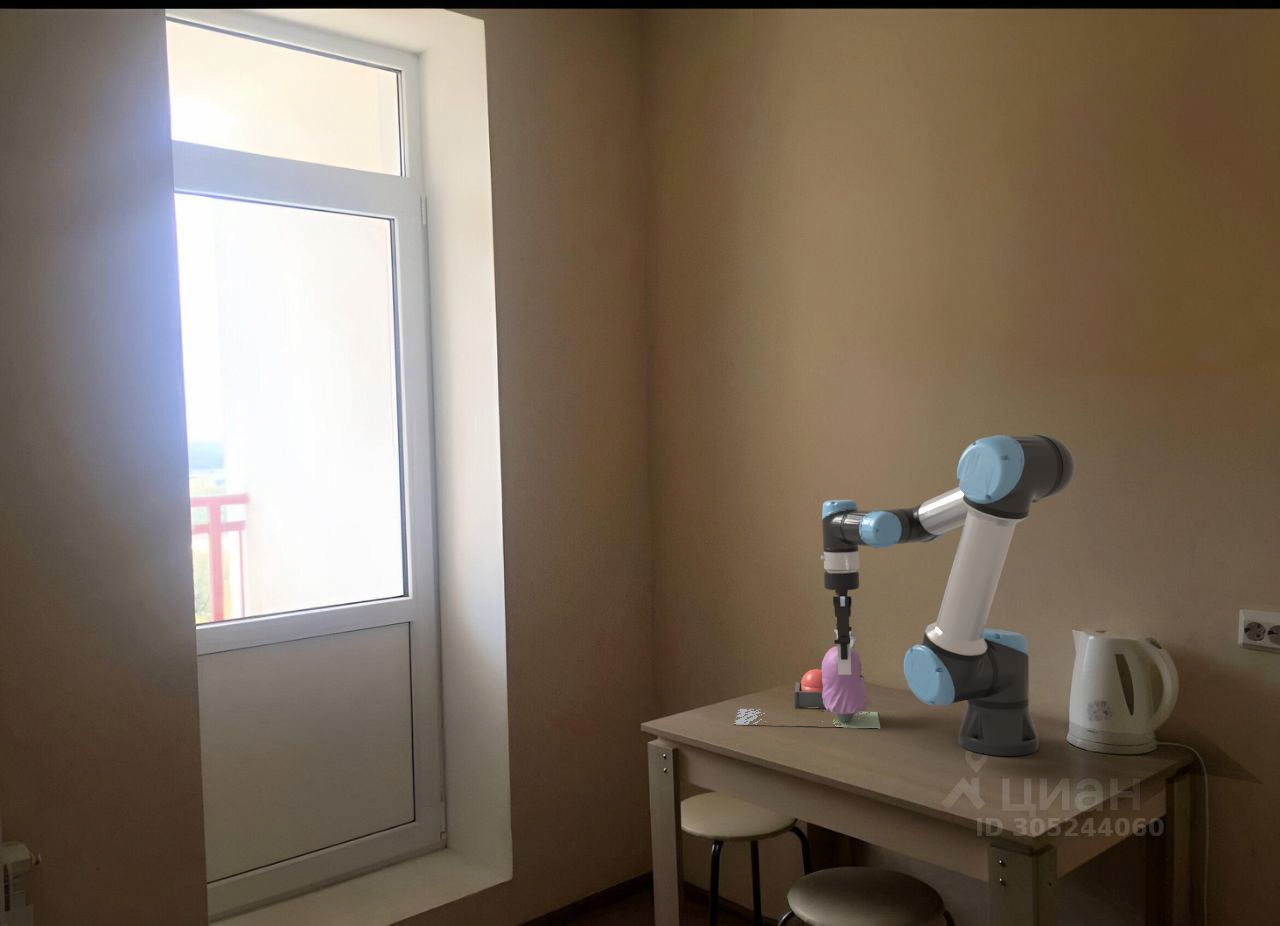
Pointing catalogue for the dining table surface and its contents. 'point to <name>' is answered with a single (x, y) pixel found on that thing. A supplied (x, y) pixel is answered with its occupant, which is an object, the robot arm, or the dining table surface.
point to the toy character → (843, 684)
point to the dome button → (812, 681)
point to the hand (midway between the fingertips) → (844, 667)
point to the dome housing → (807, 698)
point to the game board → (864, 722)
